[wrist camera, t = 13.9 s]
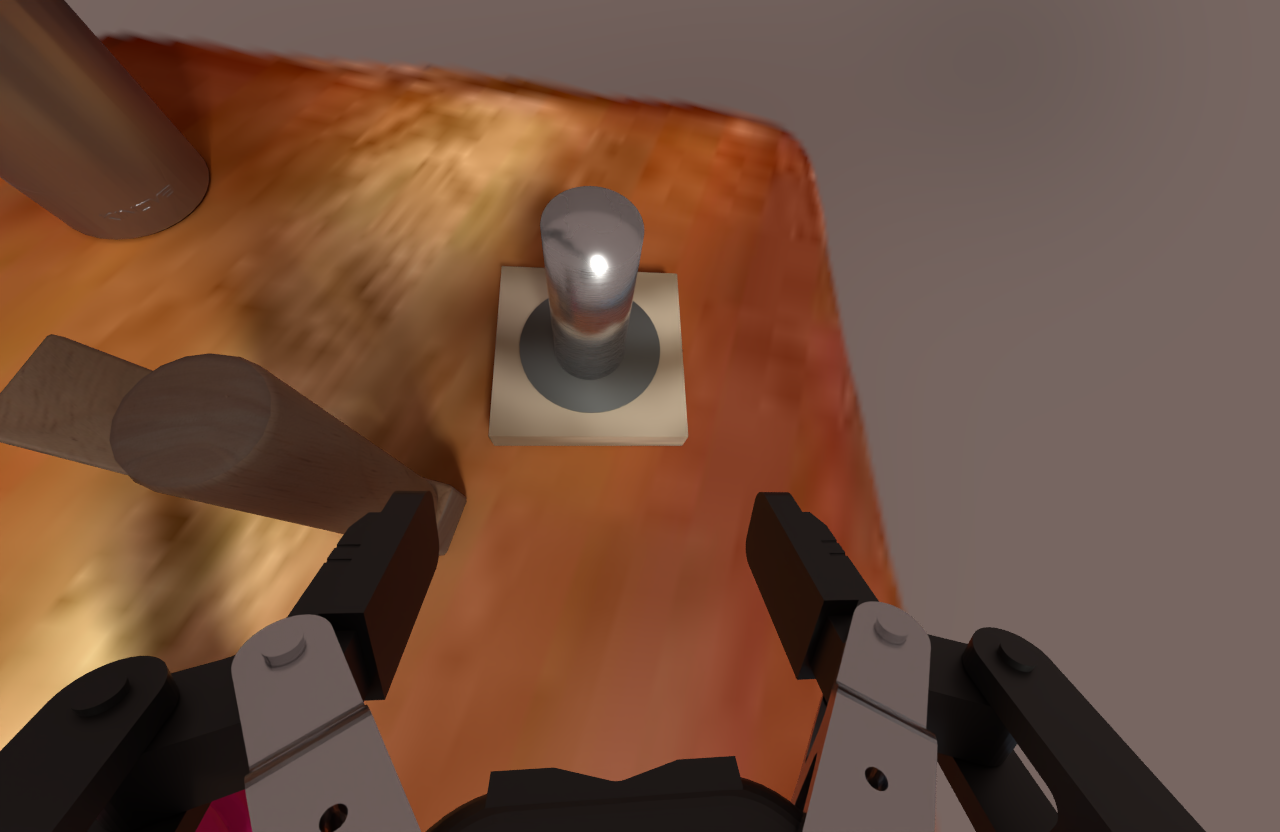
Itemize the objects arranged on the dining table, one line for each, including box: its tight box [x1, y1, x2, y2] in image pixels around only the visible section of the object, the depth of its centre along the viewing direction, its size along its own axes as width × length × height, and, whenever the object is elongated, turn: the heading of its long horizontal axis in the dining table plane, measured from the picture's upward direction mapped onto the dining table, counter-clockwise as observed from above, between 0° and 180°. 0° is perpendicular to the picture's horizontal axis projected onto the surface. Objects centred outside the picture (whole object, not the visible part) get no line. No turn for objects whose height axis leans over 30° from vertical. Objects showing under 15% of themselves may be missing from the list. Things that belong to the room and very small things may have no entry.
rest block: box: [489, 266, 688, 446], centre depth 32 cm, size 12×12×2 cm
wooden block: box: [0, 334, 466, 556], centre depth 20 cm, size 4×11×18 cm, turn 76°
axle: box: [540, 186, 644, 380], centre depth 25 cm, size 4×4×11 cm
